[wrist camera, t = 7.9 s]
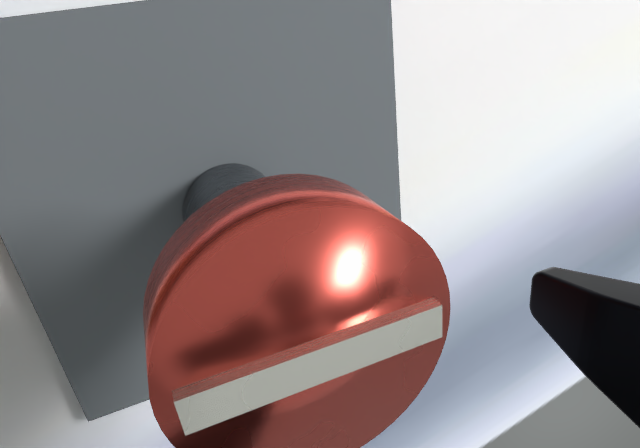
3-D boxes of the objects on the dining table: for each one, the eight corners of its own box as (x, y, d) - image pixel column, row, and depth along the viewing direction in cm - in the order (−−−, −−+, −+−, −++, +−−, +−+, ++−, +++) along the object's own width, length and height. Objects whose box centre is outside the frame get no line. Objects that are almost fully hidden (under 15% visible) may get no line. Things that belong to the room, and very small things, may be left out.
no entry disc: (303, 102, 15) (461, 175, 8) (323, 261, 18) (457, 419, 11) (109, 142, 14) (96, 276, 6) (164, 309, 16) (196, 536, 9)
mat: (400, 302, 21) (405, 306, 20) (88, 413, 17) (88, 421, 17) (382, -28, 15) (389, -30, 15) (-91, 29, 11) (-98, 29, 11)
